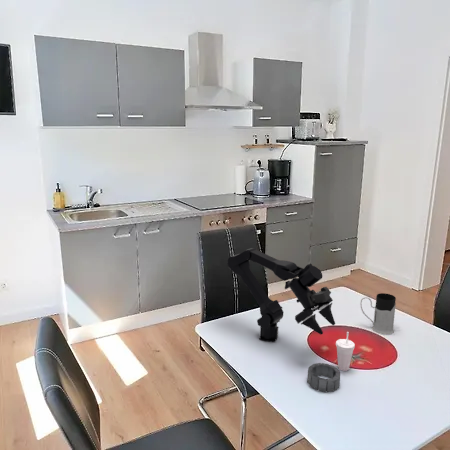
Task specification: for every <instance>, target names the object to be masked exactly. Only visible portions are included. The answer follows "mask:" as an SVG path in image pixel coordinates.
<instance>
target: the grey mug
mask: <svg viewBox="0 0 450 450" xmlns="http://www.w3.org/2000/svg"><path fill="white" fill-rule="evenodd" d="M364 299H368V300H369V301H370V308H372V309H374V314H373V320H372V319H371V318H370V317H369V316H368V314H366V313H365V311H364V310H363V307H362V305H360V309H361V312H362V314H363V315H364V316H365V317H366V318H367V319H369V321H370V322H372V323H371V324H372V327H371V329H372V331H373V332H375V333H377V334H380V335H384V336H385V335H386V336H387V335H388V336H389V335H393V334H394V332H395V330H394V325H395V324H394V323H395V315H396V314H395V312H396V304H397V303H396V300H397V298H396V296H395V295H393V294H390V293H377V294H376V299H375V306H373V305H372V304H373V303H372V300H371V298H370V297H367V296H365V297H364V296H363V297H362V298H361V300H360V303H362V302H363V300H364Z"/></svg>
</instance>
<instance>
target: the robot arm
mask: <svg viewBox="0 0 450 450" xmlns="http://www.w3.org/2000/svg"><path fill="white" fill-rule="evenodd" d="M250 261H251V262H253V263H254V264H255V263H256V264H257V265H259V266H261V267H264V268H266V269H268V270H270V271H272V273H273V274H274V275H275V276H276V277H277V278H278V279H280V280H282V281H285V282H284V285H285V286H284V290H287V289H289V288H290V290H291V291H292V293H293V295H294V296H295V297H296V303H300V305H301V306H302V307H303V309H302V311H300V312H299V313H298V314H295V316H294V320H295V322H296V323H297V324H300V325H303V326H305V327H307V328H309V329H311V330H313V331H314V332H316V333H317V334H319V335H323V334H324V331H323V329H322V327H321V326H320V324H319V322H318V321H317V320H316V313H314V312H316V311H317V310H318V313H319V314H320V316H322V317H323V318H324V319H325V320H326V321H327V322H328V323H329V324H330V325H332V326H335V325H336V321H335V318H334V315H333V313H332V305H333V301H334V300H333V298H332V297H331V293H332V291H330V289H329V288H328V287H327V286H324V287H321V288H320V290H319V291H315V290H314V289H310V288H311V287H312V286H314V285H315V284H316V283H318V282H319V281H320V280H322V279H323V273H322V270H321V269H320V268H318V267H317V266H315V265H313V264H312V263H309V264H307V265H306V266H304V267H300V266H298V265H297V264H296V263H295V262H292V261H288V260H279V259H276V258H274V257H273V256H270V255H268V254H266V253H264V252H262V251H260V250H257V249H256V248H254V247H251V248H248V249H245V250H244V251H243V252H240V253H238V254H234V255H231V256H229V257H228V258H227V266H228V268H229V269H230V271H232V272H233V274H235V275H237V276H239V277H240V278H241V280H242V281H243V283H244V284H245V286H246V287H247V289H248V291H249V293H251V295H252V296H253V298H254V300H255V301H256V302H257V304H258V305H259V312H260V313H259V314H260V315H261V317H259V318H258V319H256V322H257V325H258V326H259V327H260V328H259V329H260V330H259V331H260V332H259V333H260V336H259V337H258V340H260V341H265V342H271V343H275V342H276V341H277V339H278V337H279V326H278V323H280V322H281V320H282V319H283V317H284V310H283V307H282V306H281V305H280V302H279V301H278V299H275V300H272V299H271V298H270V297H269V295H267V292H266V291H265V290H264V288H263V287H262V285H261V284H260V283H259V281H258V280H257V277H255V275H254V273H253V272H252V270H251V265H250Z"/></svg>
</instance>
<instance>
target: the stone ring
mask: <svg viewBox="0 0 450 450" xmlns="http://www.w3.org/2000/svg"><path fill="white" fill-rule="evenodd" d="M307 369H308V370H307V378H306V379H307V384H308V385H309V387H310V388H312V389H314V390H316V391H318V392H320V393H321V392H322V393H331V392H335V391H337V390H339V389H340V384H341V370H340V369H339V368H338V367H336V366H334V365H332V364H330V363H325V362H318V363H317V362H316V363H313V364H311V365H309V367H308V368H307ZM322 376H323V377H322ZM324 377H327V378H324Z"/></svg>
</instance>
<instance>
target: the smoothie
mask: <svg viewBox="0 0 450 450" xmlns="http://www.w3.org/2000/svg"><path fill="white" fill-rule="evenodd" d="M349 333H350V332H349V331H346V338H339V339H337V340H336V341H335V346H336V356H337V358H336V359H337V369H338V370H339V371H343V372H347V371H349V370H350V366H351V361H352V357H353V353H354V349H355V345H356V344H355V342H353V341H352V340H351V339H349Z"/></svg>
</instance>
